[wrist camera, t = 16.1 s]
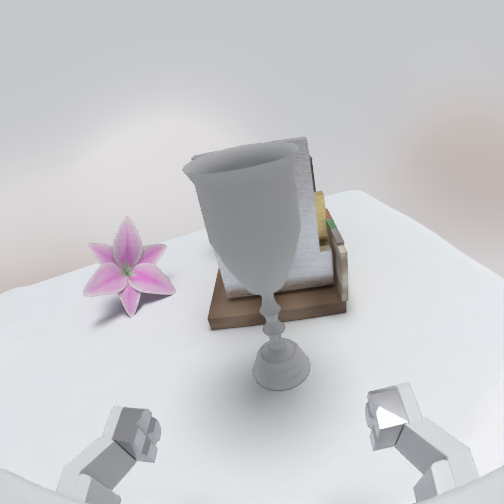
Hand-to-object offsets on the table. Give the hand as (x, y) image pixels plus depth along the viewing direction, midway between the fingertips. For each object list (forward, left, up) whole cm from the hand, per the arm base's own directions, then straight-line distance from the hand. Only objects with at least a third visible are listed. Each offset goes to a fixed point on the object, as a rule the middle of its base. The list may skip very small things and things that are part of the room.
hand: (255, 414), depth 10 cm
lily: (-18, +26, -12) cm, 34 cm away
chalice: (0, +12, -12) cm, 17 cm away
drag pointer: (+5, +23, -9) cm, 26 cm away
